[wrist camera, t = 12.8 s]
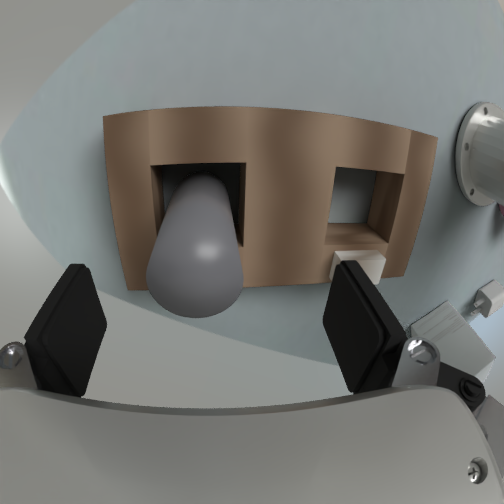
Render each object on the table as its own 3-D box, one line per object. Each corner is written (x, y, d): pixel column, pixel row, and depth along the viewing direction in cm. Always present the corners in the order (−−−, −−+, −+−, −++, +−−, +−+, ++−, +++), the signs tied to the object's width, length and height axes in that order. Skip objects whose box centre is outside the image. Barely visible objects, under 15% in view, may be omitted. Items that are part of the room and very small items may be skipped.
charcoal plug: (227, 165, 21) (244, 235, 11) (226, 213, 23) (242, 316, 13) (175, 166, 20) (138, 239, 10) (177, 215, 22) (154, 318, 12)
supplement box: (411, 349, 38) (447, 409, 27) (409, 324, 34) (454, 392, 23) (446, 326, 37) (486, 380, 26) (448, 298, 33) (497, 357, 22)
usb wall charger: (488, 295, 36) (501, 308, 32) (463, 311, 36) (476, 326, 33) (493, 278, 34) (507, 291, 30) (468, 293, 34) (483, 309, 31)
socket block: (409, 129, 21) (450, 141, 16) (383, 254, 27) (411, 285, 22) (121, 113, 18) (93, 118, 13) (137, 263, 24) (123, 302, 19)
